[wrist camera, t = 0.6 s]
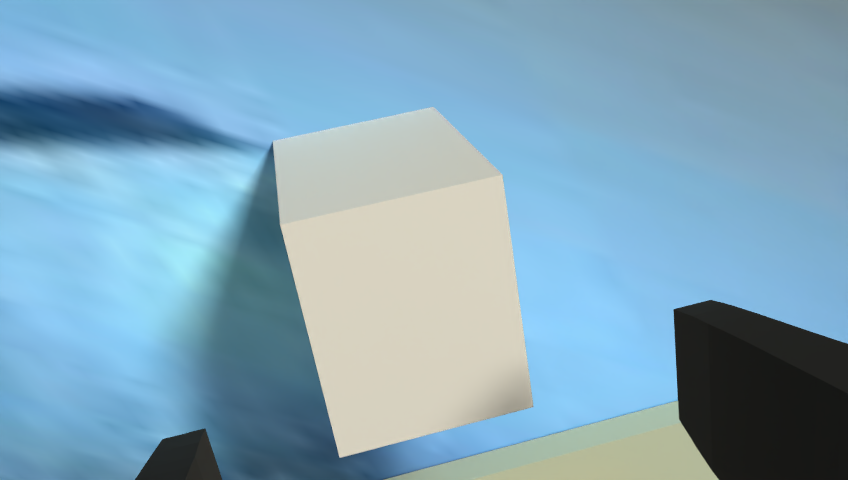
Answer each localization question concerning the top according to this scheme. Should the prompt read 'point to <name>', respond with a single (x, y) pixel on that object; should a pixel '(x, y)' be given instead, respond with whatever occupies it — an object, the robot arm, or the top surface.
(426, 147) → the chute block
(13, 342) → the top surface
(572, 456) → the deck
